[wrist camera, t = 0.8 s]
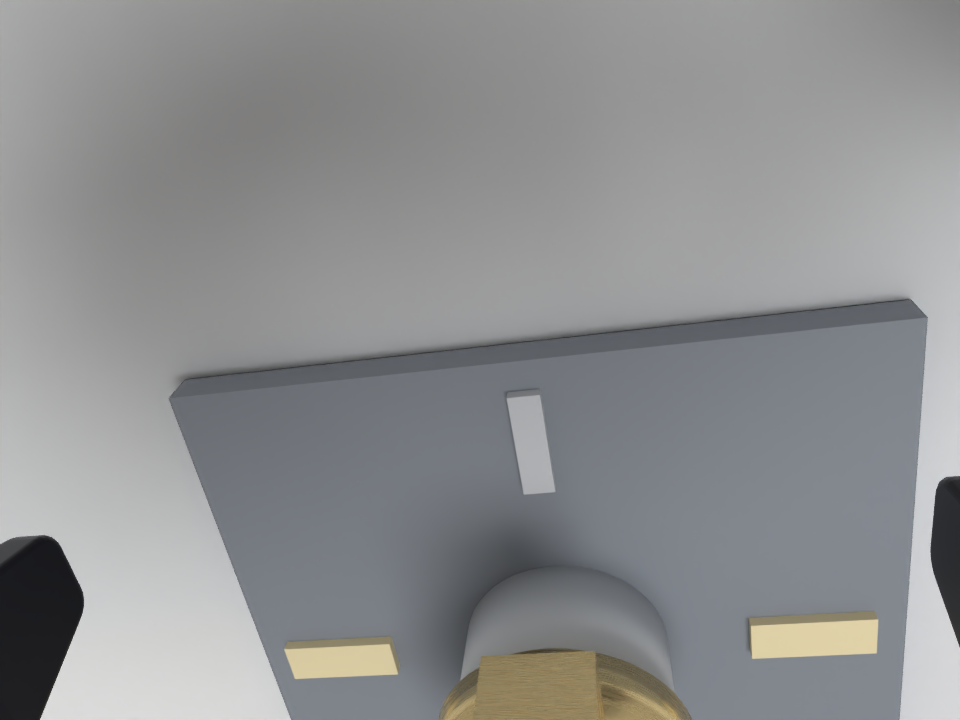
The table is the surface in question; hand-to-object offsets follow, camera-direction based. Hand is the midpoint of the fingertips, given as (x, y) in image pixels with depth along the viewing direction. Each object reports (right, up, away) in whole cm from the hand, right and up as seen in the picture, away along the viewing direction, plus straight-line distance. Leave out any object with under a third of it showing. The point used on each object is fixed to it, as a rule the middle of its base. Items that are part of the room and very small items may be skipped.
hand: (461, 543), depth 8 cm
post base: (+3, -6, +16) cm, 17 cm away
